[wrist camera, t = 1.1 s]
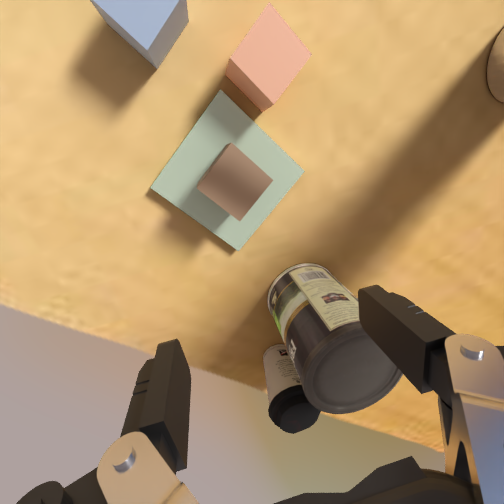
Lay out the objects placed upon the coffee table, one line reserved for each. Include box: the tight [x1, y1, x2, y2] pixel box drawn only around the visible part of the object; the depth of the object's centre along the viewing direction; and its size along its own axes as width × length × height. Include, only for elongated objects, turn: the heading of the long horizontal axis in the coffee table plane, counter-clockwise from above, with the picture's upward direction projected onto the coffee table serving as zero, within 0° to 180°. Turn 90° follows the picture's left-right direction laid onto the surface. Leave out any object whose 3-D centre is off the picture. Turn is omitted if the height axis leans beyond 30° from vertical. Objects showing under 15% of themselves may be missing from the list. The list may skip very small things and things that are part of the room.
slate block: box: [90, 0, 189, 69], centre depth 21 cm, size 5×5×5 cm
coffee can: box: [267, 263, 403, 414], centre depth 30 cm, size 10×10×14 cm
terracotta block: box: [225, 2, 312, 112], centre depth 24 cm, size 5×5×5 cm
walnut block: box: [197, 142, 273, 221], centre depth 26 cm, size 5×5×5 cm
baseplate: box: [150, 89, 305, 251], centre depth 29 cm, size 12×12×1 cm
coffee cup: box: [263, 344, 321, 434], centre depth 35 cm, size 7×7×10 cm
